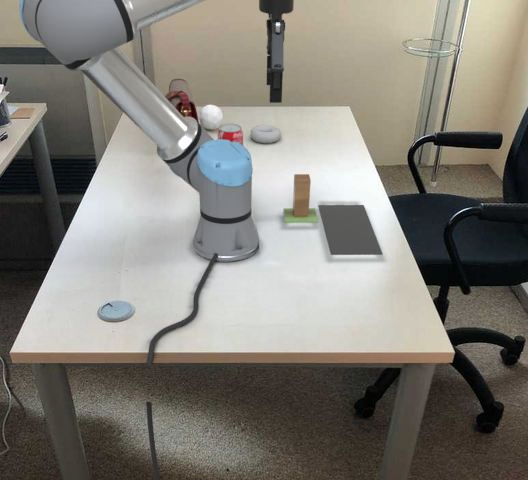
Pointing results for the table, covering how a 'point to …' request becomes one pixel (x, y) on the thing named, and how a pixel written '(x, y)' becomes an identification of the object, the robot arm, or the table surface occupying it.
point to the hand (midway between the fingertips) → (273, 93)
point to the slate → (349, 230)
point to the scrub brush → (300, 202)
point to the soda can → (231, 133)
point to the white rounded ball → (211, 117)
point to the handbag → (182, 98)
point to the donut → (265, 134)
